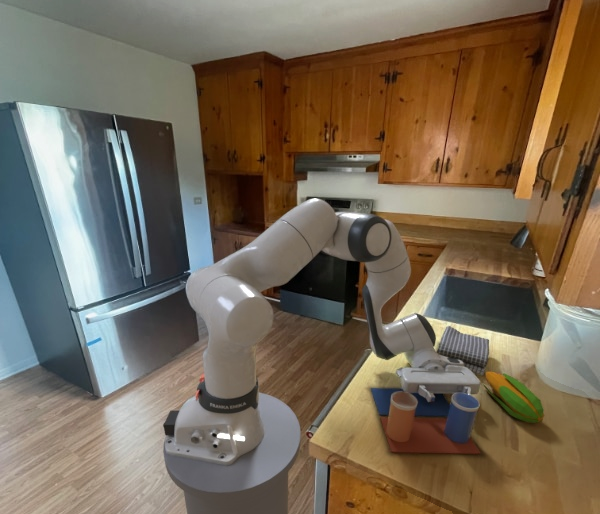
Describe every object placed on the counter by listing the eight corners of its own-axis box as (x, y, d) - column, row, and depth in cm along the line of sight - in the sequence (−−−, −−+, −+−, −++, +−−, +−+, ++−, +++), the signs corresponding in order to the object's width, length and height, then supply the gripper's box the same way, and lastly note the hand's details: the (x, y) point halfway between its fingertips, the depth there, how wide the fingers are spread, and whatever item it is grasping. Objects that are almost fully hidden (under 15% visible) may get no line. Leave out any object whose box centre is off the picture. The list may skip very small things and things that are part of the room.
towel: (432, 365, 107) (437, 344, 104) (440, 341, 122) (444, 322, 119) (485, 379, 100) (491, 357, 97) (486, 352, 115) (491, 332, 112)
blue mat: (379, 415, 84) (379, 414, 84) (370, 388, 95) (370, 388, 94) (456, 416, 85) (456, 415, 84) (439, 390, 95) (440, 389, 95)
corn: (531, 406, 77) (478, 360, 96) (520, 431, 80) (470, 382, 98) (558, 405, 78) (500, 360, 97) (546, 430, 81) (492, 382, 100)
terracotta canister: (389, 442, 76) (394, 407, 72) (383, 424, 81) (388, 391, 77) (414, 443, 76) (421, 408, 72) (406, 424, 81) (412, 391, 77)
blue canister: (449, 443, 76) (458, 408, 72) (439, 425, 81) (447, 392, 77) (474, 444, 76) (484, 409, 72) (463, 425, 81) (472, 392, 77)
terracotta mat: (391, 452, 73) (391, 451, 73) (380, 418, 83) (380, 417, 83) (480, 454, 73) (480, 453, 73) (458, 419, 84) (458, 418, 84)
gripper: (395, 358, 93) (411, 388, 80) (467, 360, 93) (494, 390, 80) (392, 377, 95) (407, 409, 82) (462, 379, 96) (487, 411, 83)
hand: (450, 400), depth 81 cm, fingers open, 8 cm apart
